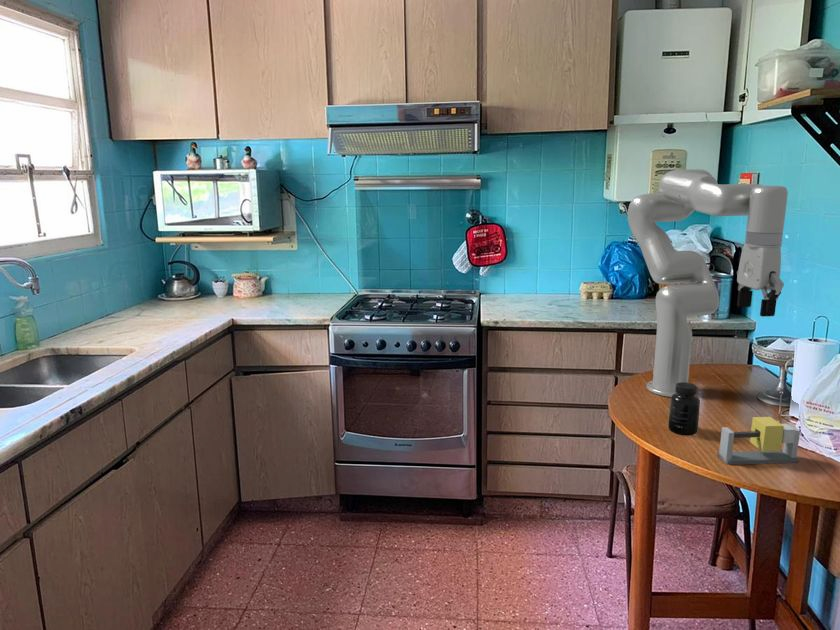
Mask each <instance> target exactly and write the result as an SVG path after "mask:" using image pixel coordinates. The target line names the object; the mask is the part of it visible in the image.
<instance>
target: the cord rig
mask: <svg viewBox="0 0 840 630" xmlns="http://www.w3.org/2000/svg"><path fill="white" fill-rule="evenodd" d="M781 424H782V425H783V426H784V427H783V434H782V442H781V444H783V449H782V450H781V449H780V451H767V452H762V451H761V450H749V451H747V450H746V451H743V450H742V451H733V448H734V441H735V440H734V439H736V438H737V439H743V438H745V439H748V438H749V439H750V437H760V433H761V432H760V431H746V430H745V431H733V430H731V429H730V428H729V427H726V426H725V427H724V426H722V427H721V434H720V443H719V444H720V445H719V450H718V452H717V454H716V455H717V456H718V458H720V460H721V461H723V463H725V464H726V465H755V464H783V463H784V464H785V463H789V464H790V463H799V458H798V457H797V456H798V450H799V449H798V448H799V443H800V437H801V436H800V434H801V430H799V428H797V427H795V426H793V425H792V424H791V425H789V424H788V423H781Z"/></svg>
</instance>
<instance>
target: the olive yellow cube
mask: <svg viewBox="0 0 840 630" xmlns="http://www.w3.org/2000/svg"><path fill="white" fill-rule="evenodd" d="M782 424H783V423H780V422H779V421H777V420H775V418H773V417H771V416H753V417H752V420H751V428H750V430H751V431H760V432H761V433H760V437H750V438H749V442H750V444H752V445H753V446H754V447H756V448H757V449H759V451H762V452H767V451H780V450H781V448H782V434H783V427H784V426H783V425H782Z"/></svg>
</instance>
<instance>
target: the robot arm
mask: <svg viewBox="0 0 840 630" xmlns="http://www.w3.org/2000/svg"><path fill="white" fill-rule="evenodd" d="M658 190H659V192H656V193H655V192H653V193H644V194H640V195H637V196H636V197H634V198H632V200H631V201H630V203H629V206H628V209H627V223H628V227H629V230H630V232H631V234H632V235H633V237H634V239H635V240H636V242H637V244H638V245H639V247H640V251H641V253H642V256H643V259H644V261H645V264H646V266H647V269H648V271H649V274H650V276H651V279H652V280H653V282H655V283H656V284H658V285H659V284H660V285H665V286H663V287H661V288H660V289H659V290H658V291H657V292H656V296H655V311H656V337H655V351H654V364H653V371H652V375H653V376H652V377H653V378H652V380H650V381H649V382H647V384H646V389H647V390H648V392H649V391H650V392H651V393H653V394H656V395H657V396H661V397H669V398H671V396H672V395H673V394H674V393H676V392H675V388H676V384H677V383H681V382H685V383H689V375H690V363H691V353H692V345H693V344H692V341H693V331H692V328H691V326H690V324H689V322H688V320H687V318H691V317H703V316H710V315H712V314H714V313H715V312H717V310H718V308H719V306H720V295H719V292H718V289H717V285H716V284H715V281H714V279H713V276H712V273H711V271H710V269H709V267H708V264H707V262H706V260H705V259H704V257H703V256H702V255H701V254H700V253H699V252H696V251H693V250H677V249H675V247H674V246H673V243H672V241H671V238H670V236H669V235H668V233H667V232H666V231H665V230H664V229H663V228H662V227H660V226H659V225H658V224H657V223H670V222H673V223H674V222H680V221H683V220H685V219H687V218H688V217H690V215H692V213H693V212H694V211H696V212H698V213H701V214H702V213H703V214H706V215H708V216H709V215H710V216H713V217H734V216H735V217H740V216H741V217H742V216H744V217H745V216H747V222H746V231H745V240H744V244H743V248H742V250H741V254H740V259H739V265H738V270H737V271H736V275H737V276H736V277H737V278H736V282H737V285H738V286H737V290H738V294H737V301H736V302H737V303H736V306H737V307H738V308H750V307H752V301H753V300H752V298H753V291H754V290H755V291H760V290H761V294H762V297H763V299H761V303H760V312H759V315H760V317H774V316H775V314H776V307H777V300H779V297H780V295H781V293H782V290H783V288H784V285H785V284H784V281H782V279H781V278H780V277H781V267H782V252H781V251H782V249H781V247H782V243H783V235H784V229H785V228H784V227H785V220H786V212H787V204H788V196H789V195H788V194H789V193H788V192H789V190H788V189H787V188H786V187H785V186H784V185H783V186H782V185H763V184H760V183H758V184H757V183H733V184H732V183H730V184H729V183H728V184H726V183H725V184H720V183H719V184H718V181H717V179H716V178H715V177H714V176H713V175H712V174H711V173H710V172H709V171H707V170H705V169H701V168H700V169H699V168H697V169H694V168H692V169H673V170H670V171H668V172H666V173H665V174H663V176H661V178H660V179H659V182H658Z"/></svg>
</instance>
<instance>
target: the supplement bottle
mask: <svg viewBox="0 0 840 630" xmlns="http://www.w3.org/2000/svg"><path fill="white" fill-rule="evenodd" d="M697 388H698V387H697V385H696V384H694V383H691V382H688V383H685V382H681V383H677V384H676V388H675V392H676V393H674V394H673V395H672V396H671V397H669V398H670V399H669V411H668V430H669V431H670V432H671V433H673V434H676V435H679V436H685V437H686V436H687V437H688V436H693V435H695V434H697V433H698V431H699V419H700V418H699V417H700V408H701V407H700V406H701V399H700V398H699V397H698V395H697V393H698V391H697V390H698V389H697Z"/></svg>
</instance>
